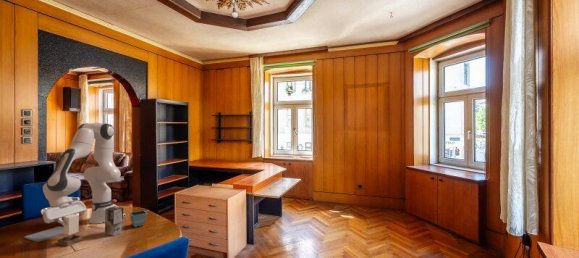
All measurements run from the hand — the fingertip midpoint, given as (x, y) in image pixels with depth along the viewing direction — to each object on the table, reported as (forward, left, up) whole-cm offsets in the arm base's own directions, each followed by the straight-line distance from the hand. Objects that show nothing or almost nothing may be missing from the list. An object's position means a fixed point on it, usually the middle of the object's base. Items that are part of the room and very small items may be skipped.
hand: (71, 222), depth 152 cm
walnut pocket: (0, 0, -11) cm, 11 cm away
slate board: (-2, -24, -11) cm, 27 cm away
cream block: (0, 0, -6) cm, 6 cm away
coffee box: (-19, +10, -12) cm, 24 cm away
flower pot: (-34, +13, -12) cm, 38 cm away
